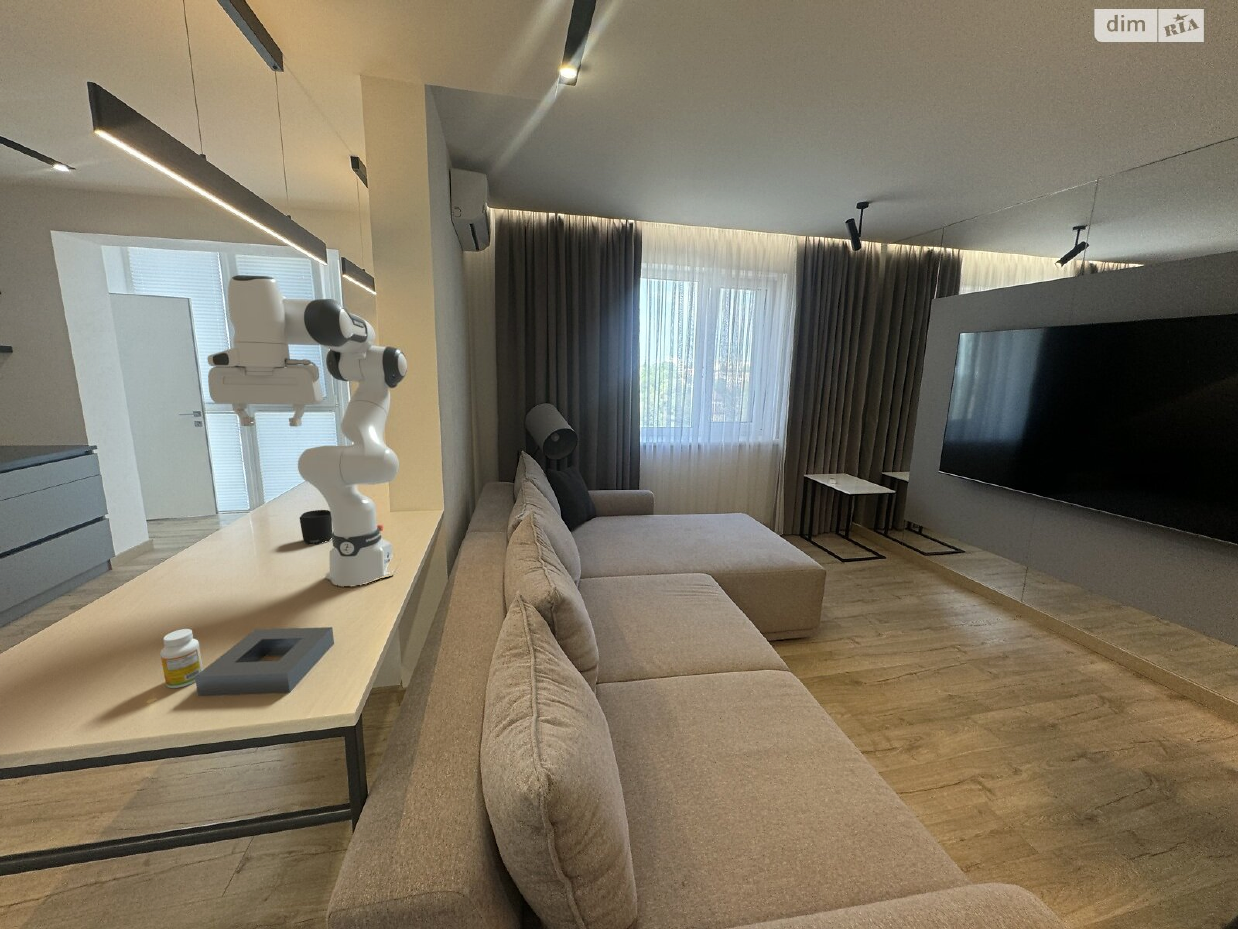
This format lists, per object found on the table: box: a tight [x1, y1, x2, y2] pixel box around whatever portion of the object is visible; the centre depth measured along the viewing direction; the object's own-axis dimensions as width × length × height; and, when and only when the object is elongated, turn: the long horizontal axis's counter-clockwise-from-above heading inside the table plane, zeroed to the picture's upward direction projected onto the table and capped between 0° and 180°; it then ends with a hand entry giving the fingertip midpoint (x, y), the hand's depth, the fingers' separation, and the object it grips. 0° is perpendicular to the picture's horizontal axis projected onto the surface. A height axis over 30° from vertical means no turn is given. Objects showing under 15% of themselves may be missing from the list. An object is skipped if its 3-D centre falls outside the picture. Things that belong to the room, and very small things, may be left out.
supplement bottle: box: [160, 628, 205, 689], centre depth 88 cm, size 5×5×10 cm
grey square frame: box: [195, 626, 335, 697], centre depth 93 cm, size 16×16×4 cm
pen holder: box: [299, 509, 333, 545], centre depth 162 cm, size 9×9×10 cm
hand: (272, 426), depth 96 cm, fingers open, 8 cm apart
